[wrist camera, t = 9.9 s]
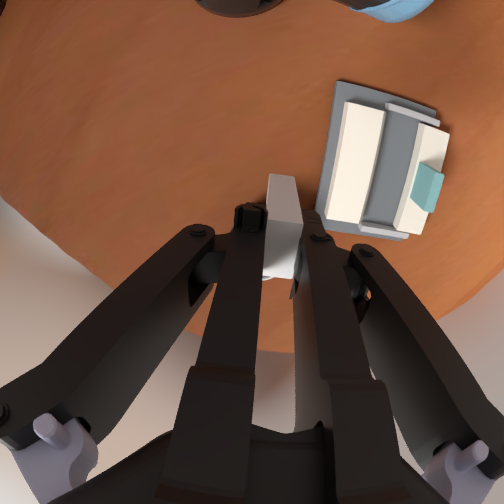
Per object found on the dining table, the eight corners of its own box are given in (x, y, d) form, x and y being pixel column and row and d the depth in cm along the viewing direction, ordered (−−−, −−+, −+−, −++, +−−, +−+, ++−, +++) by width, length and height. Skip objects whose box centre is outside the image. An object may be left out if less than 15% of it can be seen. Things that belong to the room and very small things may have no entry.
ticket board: (335, 80, 34) (341, 79, 31) (432, 110, 34) (444, 112, 31) (311, 224, 47) (313, 235, 44) (399, 238, 47) (406, 248, 43)
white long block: (418, 122, 34) (442, 130, 28) (443, 131, 34) (467, 141, 28) (392, 224, 44) (408, 246, 38) (415, 229, 44) (433, 250, 37)
